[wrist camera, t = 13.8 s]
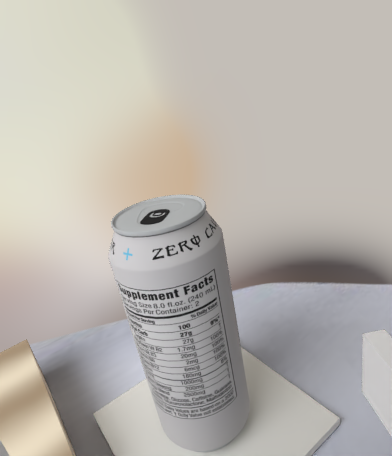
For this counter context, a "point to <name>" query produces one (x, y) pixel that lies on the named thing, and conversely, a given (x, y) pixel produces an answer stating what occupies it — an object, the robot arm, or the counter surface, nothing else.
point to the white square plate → (247, 438)
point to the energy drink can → (182, 318)
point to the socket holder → (28, 408)
